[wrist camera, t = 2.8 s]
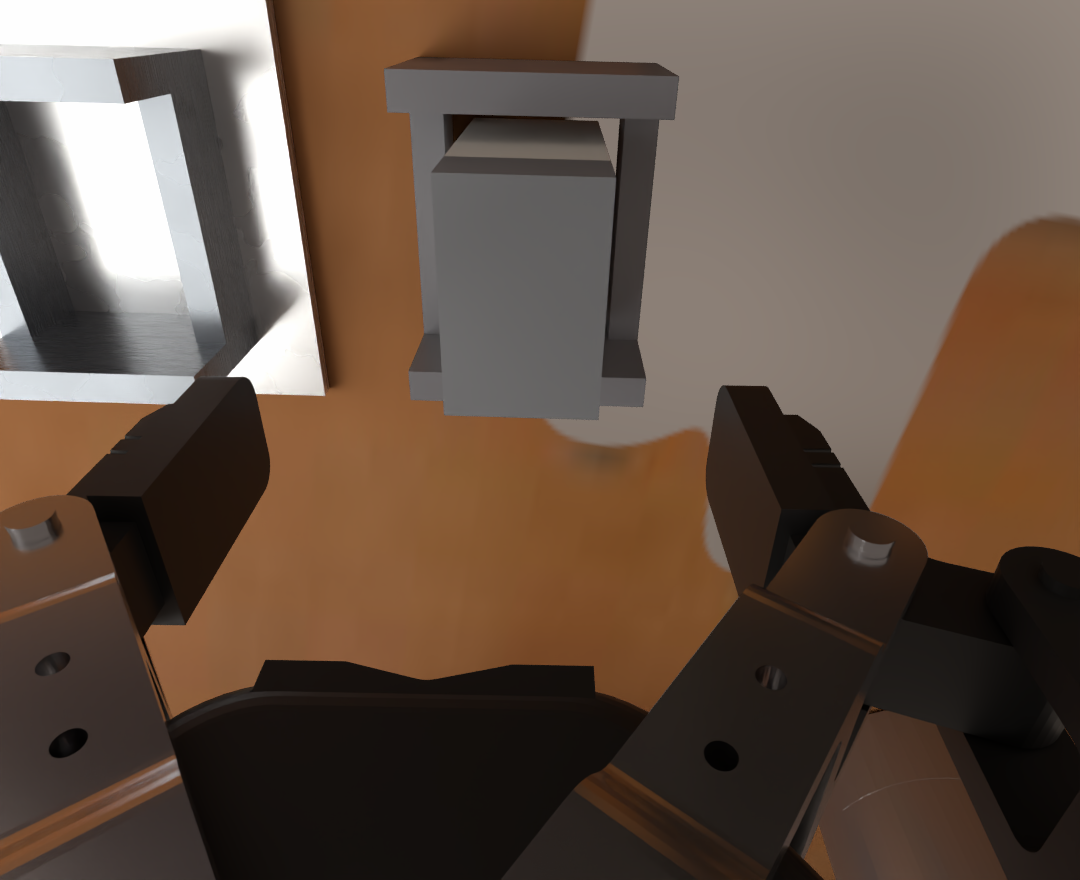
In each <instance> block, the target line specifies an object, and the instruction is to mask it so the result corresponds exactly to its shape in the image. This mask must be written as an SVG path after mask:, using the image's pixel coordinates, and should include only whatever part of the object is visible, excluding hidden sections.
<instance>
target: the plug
mask: <svg viewBox="0 0 1080 880" xmlns="http://www.w3.org/2000/svg"><path fill="white" fill-rule="evenodd" d="M431 184H432V203H433V221H434V239H435V257H436V276H437V294H438V312H439V331H440V349H441V367H442V385H443V404H444V415H454V416H486V417H518V418H550V419H582V420H584V419H585V420H598V419H599V418H598V417H599V406H600V392H601V378H602V365H603V351H604V337H605V324H606V310H607V296H608V283H609V269H610V255H611V242H612V228H613V214H614V201H615V187H616V176H615V172H614V169H613V166H612V163H611V160H610V157H609V154H608V151H607V148H606V145H605V141H604V138H603V135H602V132H601V129H600V126H599V123H598V121H578V120H540V119H503V118H474V119H473V120H472V121H471V122H470V124H469V125H468V126H467V127H466V129H465V130H464V131H463V133H462V134H461V135H460V136H459V138H458V139H457V140H456V141H455V143H454V144H453V145H452V146H451V148H450V149H449V150H448V151H447V153H446V154H445V155H444V157H443V158H442V159H441V160H440V162H439V163H438V164H437V165H436V167H435V168H434V169H433V170H432V172H431Z"/></svg>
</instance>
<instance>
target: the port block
mask: <svg viewBox="0 0 1080 880" xmlns="http://www.w3.org/2000/svg"><path fill="white" fill-rule="evenodd" d="M201 376H221V377H247V378H248V379H249V380H250V381H251V382H252V384H253V387H254V389H255V393H256V394H284V395H317V396H325V395H326V393H327V392H328V390H329V383H328V376H327V369H326V362H325V355H324V349H323V342H322V335H321V328H320V321H319V314H318V308H317V301H316V294H315V287H314V280H313V273H312V267H311V260H310V253H309V246H308V239H307V233H306V226H305V219H304V212H303V205H302V198H301V192H300V185H299V178H298V171H297V164H296V157H295V151H294V144H293V137H292V130H291V123H290V116H289V110H288V103H287V96H286V89H285V82H284V75H283V69H282V62H281V55H280V48H279V41H278V34H277V28H276V21H275V14H274V7H273V0H0V399H14V400H46V401H78V402H111V403H143V404H174V402H175V401H176V400H177V399H178V398H179V397H180V396H181V395H182V394H183V393H184V392H185V391H186V390H187V389H188V388H189V387H190V386H191V385H192V384H193V382H194V381H195V380H196V379H197V378H199V377H201Z"/></svg>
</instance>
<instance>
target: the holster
mask: <svg viewBox="0 0 1080 880" xmlns="http://www.w3.org/2000/svg"><path fill="white" fill-rule="evenodd" d="M384 76H385V88H386V100H387V112H396V113H410V127H411V142H412V157H413V172H414V187H415V202H416V217H417V232H418V247H419V262H420V277H421V292H422V307H423V322H424V336H423V338H422V341H421V343H420V345H419V348H418V350H417V353H416V355H415V357H414V360H413V362H412V364H411V367H410V369H409V383H410V395H411V400H431V401H443V385H442V367H441V349H440V331H439V312H438V294H437V276H436V257H435V239H434V221H433V203H432V184H431V172H432V170H433V169H434V168H435V167H436V165H437V164H438V163H439V162H440V160H441V159H442V158H443V157H444V155H445V154H446V153H447V151H448V150H449V149H450V148H451V146H452V145H453V120H452V114H472V115H509V116H547V117H584V118H620V125H619V140H618V152H617V167H616V187H615V201H614V214H613V228H612V242H611V255H610V269H609V283H608V296H607V310H606V324H605V337H604V351H603V365H602V378H601V392H600V406H626V407H627V406H628V407H643V403H644V394H645V385H646V384H645V383H646V376H645V372H644V367H643V363H642V359H641V354H640V350H639V345H638V341H637V339H638V328H639V318H640V307H641V298H642V288H643V278H644V268H645V258H646V248H647V238H648V228H649V217H650V207H651V197H652V186H653V177H654V167H655V166H654V165H655V157H656V147H657V136H658V126H659V119H661V120H674V119H675V109H676V100H677V91H678V81H679V76H678V75H676V74H674V73H672V72H671V71H669V70H667V69H666V68H664V67H662V66H660V65H659V64H657V63H629V62H593V61H592V62H591V61H554V60H516V59H477V58H438V57H417V58H414V59H411V60H408V61H405V62H402V63H399V64H396V65H393V66H391V67H388V68H385V69H384Z"/></svg>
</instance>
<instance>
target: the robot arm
mask: <svg viewBox="0 0 1080 880" xmlns="http://www.w3.org/2000/svg"><path fill="white" fill-rule="evenodd" d="M110 451H111V453H110V454H106V455H105V456H104V457H103V458H102V459H101V460H100V461H99V462H98V463H97V464H96V465H95V466H94V467H93V468H92V469H91V470H90V471H89V472H88V473H87V474H86V475H85V476H84V477H83V478H82V479H81V480H80V481H79V482H78V483H77V485H76V486H75V487H74V488H73V489H72V490H71V491H70V492H69V493H68V494H67V495H56V496H47V497H42V498H37V499H33V500H29V501H26V502H23V503H20V504H17V505H15V506H13V507H10V508H8V509H6V510H4V511H2V512H0V880H824V879H823V878H822V877H821V876H820V875H819V874H818V873H817V872H816V871H815V870H814V869H813V868H812V867H811V866H810V865H809V864H808V863H807V862H806V861H805V860H804V857H805V855H806V853H807V850H808V848H809V846H810V843H811V841H812V839H813V836H814V834H815V831H816V829H817V826H818V824H819V827H820V830H821V833H822V836H823V839H824V843H825V846H826V849H827V853H828V856H829V859H830V862H831V865H832V869H833V872H834V875H835V878H836V880H1080V557H1077V556H1075V555H1072V554H1069V553H1066V552H1062V551H1059V550H1055V549H1050V548H1044V547H1019V548H1015V549H1011V550H1009V551H1008V552H1006V553H1005V554H1004V555H1003V556H1002V557H1001V559H1000V562H999V564H998V566H997V568H996V571H995V573H990V572H985V571H981V570H976V569H972V568H967V567H963V566H958V565H954V564H949V563H945V562H941V561H938V560H934V559H931V558H928V552H927V549H926V546H925V544H924V543H923V541H922V540H921V539H920V537H919V536H918V535H917V534H916V533H915V532H913V531H912V530H911V529H910V528H908V527H907V526H905V525H904V524H902V523H900V522H898V521H896V520H895V519H892V518H890V517H888V516H885V515H882V514H879V513H876V512H872V511H870V510H869V508H868V507H867V505H866V504H865V502H864V500H863V499H862V497H861V496H860V494H859V492H858V491H857V489H856V488H855V486H854V484H853V483H852V481H851V480H850V478H849V476H848V475H847V473H846V472H845V470H844V469H843V468H841V467H840V465H841V464H840V462H839V461H838V459H837V457H836V456H835V454H834V453H831V448H830V446H829V445H828V443H827V441H826V440H825V438H824V437H823V435H822V433H821V432H820V431H819V430H818V429H817V428H815V427H814V426H812V425H811V424H809V423H808V422H807V421H805V420H804V419H803V418H801V417H800V416H798V415H783V413H782V411H781V409H780V407H779V406H778V404H777V402H776V400H775V399H774V397H773V395H772V393H771V392H770V390H769V388H768V387H766V386H724V385H723V386H722V387H721V388H720V390H719V392H718V396H717V401H716V408H715V413H714V420H713V427H712V432H711V439H710V445H709V452H708V458H707V465H706V490H707V496H708V500H709V503H710V507H711V510H712V513H713V516H714V519H715V522H716V525H717V529H718V532H719V535H720V538H721V541H722V545H723V548H724V551H725V554H726V557H727V561H728V564H729V567H730V570H731V573H732V576H733V580H734V583H735V586H736V589H737V592H738V595H739V597H738V599H737V600H736V601H735V603H734V604H733V605H732V606H731V608H730V609H729V610H728V612H727V613H726V614H725V615H724V617H723V618H722V619H721V621H720V622H719V623H718V624H717V626H716V627H715V628H714V630H713V631H712V632H711V633H710V635H709V636H708V637H707V639H706V640H705V641H704V642H703V644H702V645H701V646H700V648H699V649H698V650H697V651H696V653H695V654H694V655H693V657H692V658H691V659H690V660H689V662H688V663H687V664H686V666H685V667H684V668H683V669H682V671H681V672H680V673H679V675H678V676H677V677H676V678H675V680H674V681H673V682H672V684H671V685H670V686H669V687H668V689H667V690H666V691H665V692H664V694H663V695H662V696H661V698H660V699H659V700H658V701H657V703H656V704H655V705H654V707H653V708H652V709H651V710H650V712H649V713H648V712H647V711H645V710H643V709H641V708H639V707H637V706H635V705H633V704H631V703H628V702H626V701H623V700H620V699H618V698H615V697H612V696H609V695H606V694H602V693H598V692H595V681H594V666H560V665H508V666H503V667H498V668H492V669H487V670H482V671H476V672H471V673H466V674H461V675H455V676H450V677H445V678H440V679H434V680H420V679H415V678H411V677H407V676H403V675H399V674H395V673H391V672H387V671H383V670H379V669H375V668H370V667H366V666H362V665H358V664H354V663H350V662H346V661H295V660H265V662H264V665H263V667H262V669H261V671H260V674H259V676H258V678H257V681H256V683H255V685H254V686H253V687H249V688H244V689H240V690H237V691H233V692H230V693H226V694H223V695H221V696H218V697H215V698H213V699H210V700H208V701H205V702H203V703H201V704H199V705H196V706H194V707H192V708H190V709H188V710H186V711H184V712H182V713H181V714H179V715H177V716H175V717H174V718H173V717H172V714H171V711H170V708H169V706H168V703H167V700H166V697H165V694H164V691H163V689H162V686H161V683H160V680H159V677H158V674H157V671H156V669H155V666H154V663H153V660H152V657H151V654H150V652H149V649H148V646H147V644H146V641H145V639H144V635H145V634H146V632H147V631H148V629H149V627H150V626H151V625H186V623H187V621H188V620H189V618H190V616H191V615H192V613H193V611H194V610H195V608H196V606H197V604H198V603H199V601H200V599H201V598H202V596H203V594H204V593H205V591H206V589H207V588H208V586H209V584H210V583H211V581H212V579H213V577H214V576H215V574H216V572H217V571H218V569H219V567H220V566H221V564H222V562H223V561H224V559H225V557H226V556H227V554H228V552H229V550H230V549H231V547H232V545H233V544H234V542H235V540H236V539H237V537H238V535H239V534H240V532H241V530H242V528H243V527H244V525H245V523H246V522H247V520H248V518H249V517H250V515H251V513H252V512H253V510H254V508H255V507H256V505H257V503H258V501H259V500H260V498H261V496H262V495H263V493H264V491H265V489H266V487H267V484H268V480H269V474H270V458H269V452H268V447H267V443H266V438H265V434H264V429H263V425H262V420H261V416H260V411H259V407H258V402H257V397H256V393H255V389H254V387H253V384H252V382H251V381H250V380H249V379H248V378H247V377H221V376H201V377H199V378H197V379H196V380H195V381H194V382H193V384H192V385H191V386H190V387H189V388H188V389H187V390H186V391H185V392H184V393H183V394H182V395H181V396H180V397H179V398H178V399H177V400H176V401H175V402H174V404H168V405H166V406H164V407H162V408H160V409H158V410H157V411H155V412H153V413H151V414H149V415H148V416H146V417H144V418H142V419H141V420H140V421H139V422H138V423H137V424H136V425H135V426H134V427H133V428H132V429H131V430H130V431H129V432H128V433H127V434H126V435H125V440H124V439H121V440H120V441H119V442H118V443H117V444H116V445H115V446H114V447H113V448H112V449H111V450H110ZM872 706H873V707H876V708H880V709H883V710H886V711H881V712H877V713H872V714H869V712H870V710H871V708H872ZM1065 728H1066V730H1067V731H1068V733H1069V735H1070V736H1071V738H1072V739H1073V741H1074V742H1073V741H1072V739H1071V738H1070V736H1069V735H1068V733H1067V731H1066V730H1065ZM1074 743H1075V744H1074ZM1075 745H1076V746H1075Z"/></svg>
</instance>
